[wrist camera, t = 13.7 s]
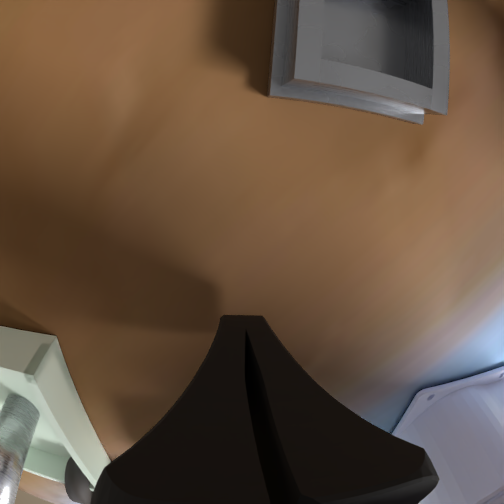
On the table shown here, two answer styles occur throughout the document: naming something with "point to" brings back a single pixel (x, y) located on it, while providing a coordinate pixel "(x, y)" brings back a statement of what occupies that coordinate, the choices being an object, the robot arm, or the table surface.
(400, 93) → the pin socket
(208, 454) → the robot arm
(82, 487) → the trolley
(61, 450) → the tray
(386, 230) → the table surface
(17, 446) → the pin
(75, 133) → the table surface
